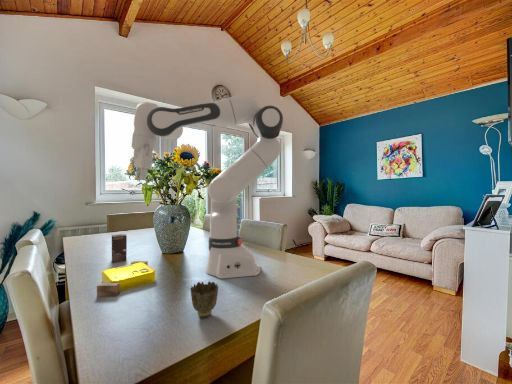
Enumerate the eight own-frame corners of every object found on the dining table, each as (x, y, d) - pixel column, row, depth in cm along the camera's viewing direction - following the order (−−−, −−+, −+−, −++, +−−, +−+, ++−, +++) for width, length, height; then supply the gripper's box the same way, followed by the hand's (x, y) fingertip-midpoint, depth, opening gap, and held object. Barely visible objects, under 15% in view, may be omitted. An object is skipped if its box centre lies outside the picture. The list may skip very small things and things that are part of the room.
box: (112, 262, 111) (111, 236, 110) (111, 260, 114) (111, 234, 114) (127, 260, 114) (126, 235, 114) (126, 258, 118) (125, 233, 117)
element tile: (142, 271, 101) (142, 260, 100) (157, 282, 90) (157, 269, 90) (100, 281, 90) (100, 269, 90) (111, 295, 79) (111, 280, 79)
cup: (219, 308, 70) (219, 280, 70) (216, 322, 63) (216, 292, 63) (193, 308, 70) (193, 281, 70) (187, 323, 63) (187, 292, 62)
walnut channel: (147, 269, 103) (147, 261, 102) (116, 296, 78) (116, 285, 78) (133, 269, 102) (133, 261, 102) (96, 296, 77) (96, 285, 77)
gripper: (158, 144, 90) (154, 181, 90) (148, 147, 107) (145, 178, 107) (139, 141, 86) (135, 180, 87) (132, 144, 103) (129, 177, 104)
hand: (140, 179), depth 97 cm, fingers open, 8 cm apart
